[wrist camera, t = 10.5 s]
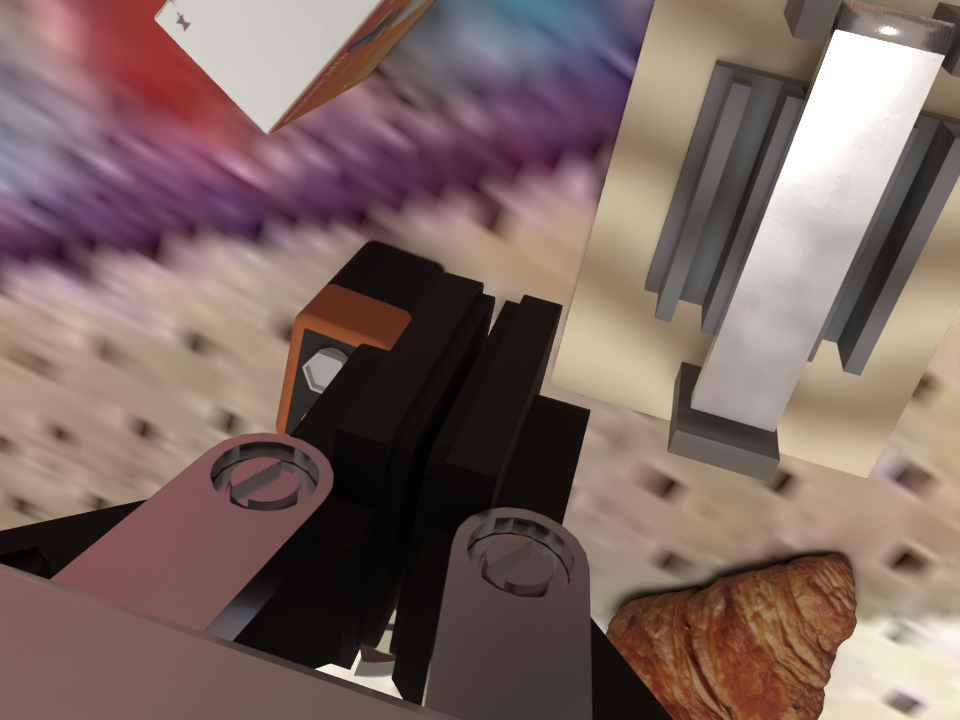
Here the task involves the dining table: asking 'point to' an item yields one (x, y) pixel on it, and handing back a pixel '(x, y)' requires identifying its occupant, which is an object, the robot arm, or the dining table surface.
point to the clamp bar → (819, 206)
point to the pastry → (742, 641)
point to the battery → (351, 322)
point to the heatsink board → (729, 228)
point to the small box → (287, 48)
